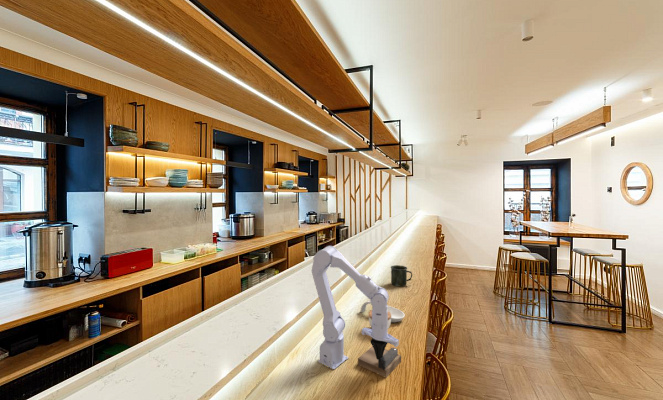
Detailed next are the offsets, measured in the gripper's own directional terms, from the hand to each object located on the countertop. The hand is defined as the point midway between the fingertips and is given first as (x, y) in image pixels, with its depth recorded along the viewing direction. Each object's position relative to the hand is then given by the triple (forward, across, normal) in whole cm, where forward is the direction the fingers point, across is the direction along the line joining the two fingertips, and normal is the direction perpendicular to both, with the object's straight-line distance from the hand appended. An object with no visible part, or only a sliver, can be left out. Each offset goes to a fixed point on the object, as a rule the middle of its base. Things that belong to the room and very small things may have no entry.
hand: (379, 358), depth 107 cm
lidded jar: (+4, +15, -26) cm, 30 cm away
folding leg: (+1, -2, -3) cm, 4 cm away
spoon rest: (+4, +21, -39) cm, 44 cm away
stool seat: (+4, +2, -3) cm, 5 cm away
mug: (+4, +35, -91) cm, 98 cm away
